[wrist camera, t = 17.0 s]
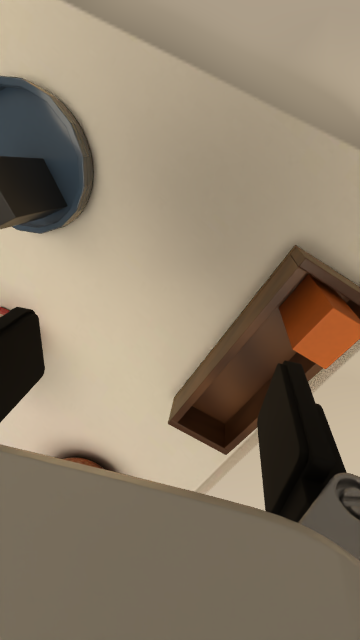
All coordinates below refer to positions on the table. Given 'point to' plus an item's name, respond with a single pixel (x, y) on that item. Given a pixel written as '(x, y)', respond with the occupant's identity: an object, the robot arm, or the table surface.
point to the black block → (27, 191)
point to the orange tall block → (319, 322)
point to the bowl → (46, 146)
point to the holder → (250, 358)
